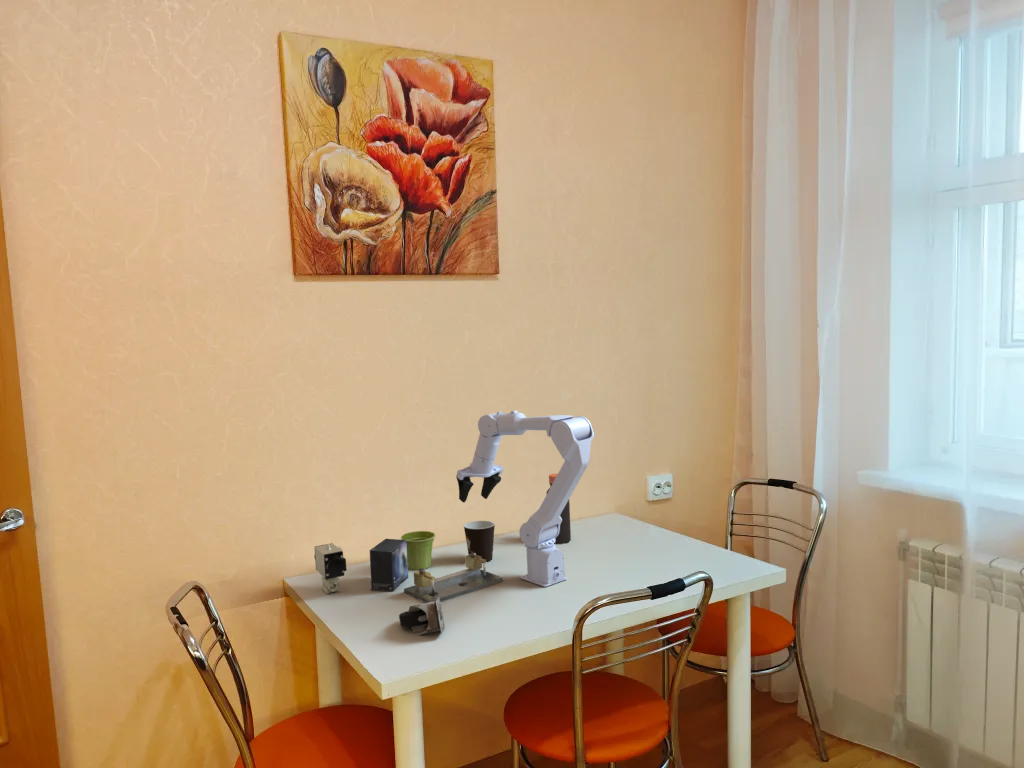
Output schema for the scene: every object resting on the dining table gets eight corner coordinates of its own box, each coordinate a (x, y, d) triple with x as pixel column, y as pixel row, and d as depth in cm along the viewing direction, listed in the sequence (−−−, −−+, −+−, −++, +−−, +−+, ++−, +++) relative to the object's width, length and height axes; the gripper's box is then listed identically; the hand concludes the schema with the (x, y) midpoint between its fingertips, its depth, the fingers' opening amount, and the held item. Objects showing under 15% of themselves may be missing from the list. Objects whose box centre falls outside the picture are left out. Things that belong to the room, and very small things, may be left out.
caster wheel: (405, 632, 167) (449, 623, 167) (397, 642, 156) (444, 633, 156) (400, 602, 168) (443, 593, 168) (391, 610, 156) (438, 601, 157)
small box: (394, 592, 185) (392, 551, 184) (370, 591, 187) (367, 550, 186) (409, 577, 195) (407, 538, 195) (386, 576, 197) (384, 538, 196)
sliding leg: (489, 574, 191) (489, 556, 190) (481, 576, 189) (481, 558, 189) (473, 568, 196) (472, 550, 195) (465, 570, 194) (465, 553, 194)
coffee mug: (495, 564, 203) (493, 528, 202) (464, 565, 203) (462, 529, 203) (497, 551, 215) (495, 517, 214) (467, 552, 215) (465, 518, 214)
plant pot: (443, 563, 206) (442, 532, 205) (423, 574, 198) (421, 542, 197) (416, 559, 210) (415, 529, 210) (395, 569, 202) (393, 538, 202)
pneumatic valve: (328, 599, 182) (325, 552, 181) (315, 586, 192) (312, 540, 191) (350, 594, 184) (347, 547, 183) (336, 581, 195) (333, 537, 194)
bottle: (574, 539, 223) (572, 473, 222) (564, 545, 217) (561, 478, 216) (555, 536, 227) (552, 472, 225) (544, 542, 221) (541, 476, 219)
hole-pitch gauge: (502, 581, 190) (501, 558, 189) (431, 605, 175) (430, 580, 175) (474, 570, 199) (472, 548, 198) (404, 592, 184) (402, 569, 184)
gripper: (496, 445, 206) (485, 488, 211) (455, 450, 197) (443, 494, 201) (512, 458, 202) (500, 501, 206) (470, 462, 192) (458, 508, 196)
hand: (473, 498), depth 203 cm, fingers open, 7 cm apart
